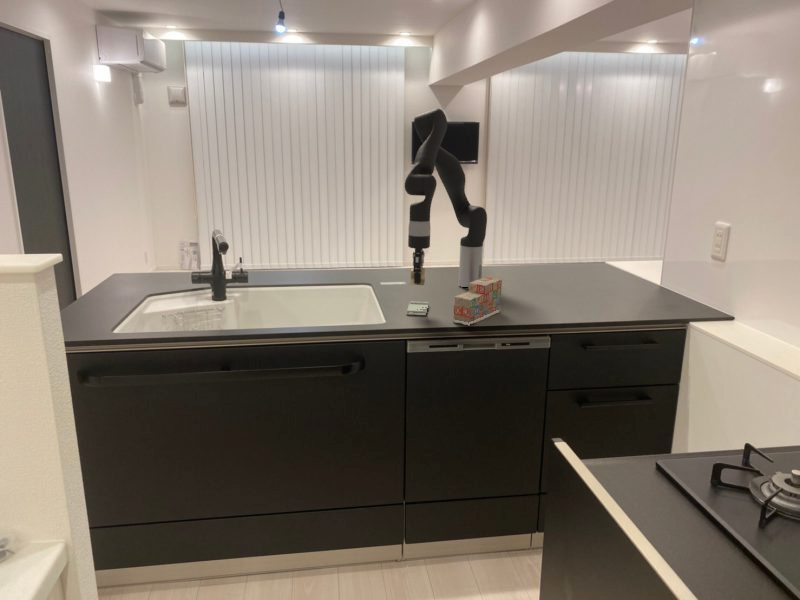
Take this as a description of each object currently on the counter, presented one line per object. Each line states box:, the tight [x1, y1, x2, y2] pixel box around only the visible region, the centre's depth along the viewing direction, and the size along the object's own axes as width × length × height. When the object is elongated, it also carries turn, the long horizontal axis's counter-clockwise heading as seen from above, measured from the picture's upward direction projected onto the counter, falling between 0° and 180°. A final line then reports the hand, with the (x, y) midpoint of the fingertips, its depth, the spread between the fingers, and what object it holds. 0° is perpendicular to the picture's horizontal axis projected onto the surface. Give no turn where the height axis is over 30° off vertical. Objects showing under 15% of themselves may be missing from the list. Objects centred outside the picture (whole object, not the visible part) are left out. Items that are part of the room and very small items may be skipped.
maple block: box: [410, 267, 426, 286], centre depth 207 cm, size 5×5×5 cm
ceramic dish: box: [406, 300, 430, 313], centre depth 210 cm, size 7×12×2 cm, turn 174°
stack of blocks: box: [453, 276, 503, 323], centre depth 202 cm, size 21×6×12 cm, turn 143°
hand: (417, 281), depth 207 cm, fingers closed on maple block, 4 cm apart
